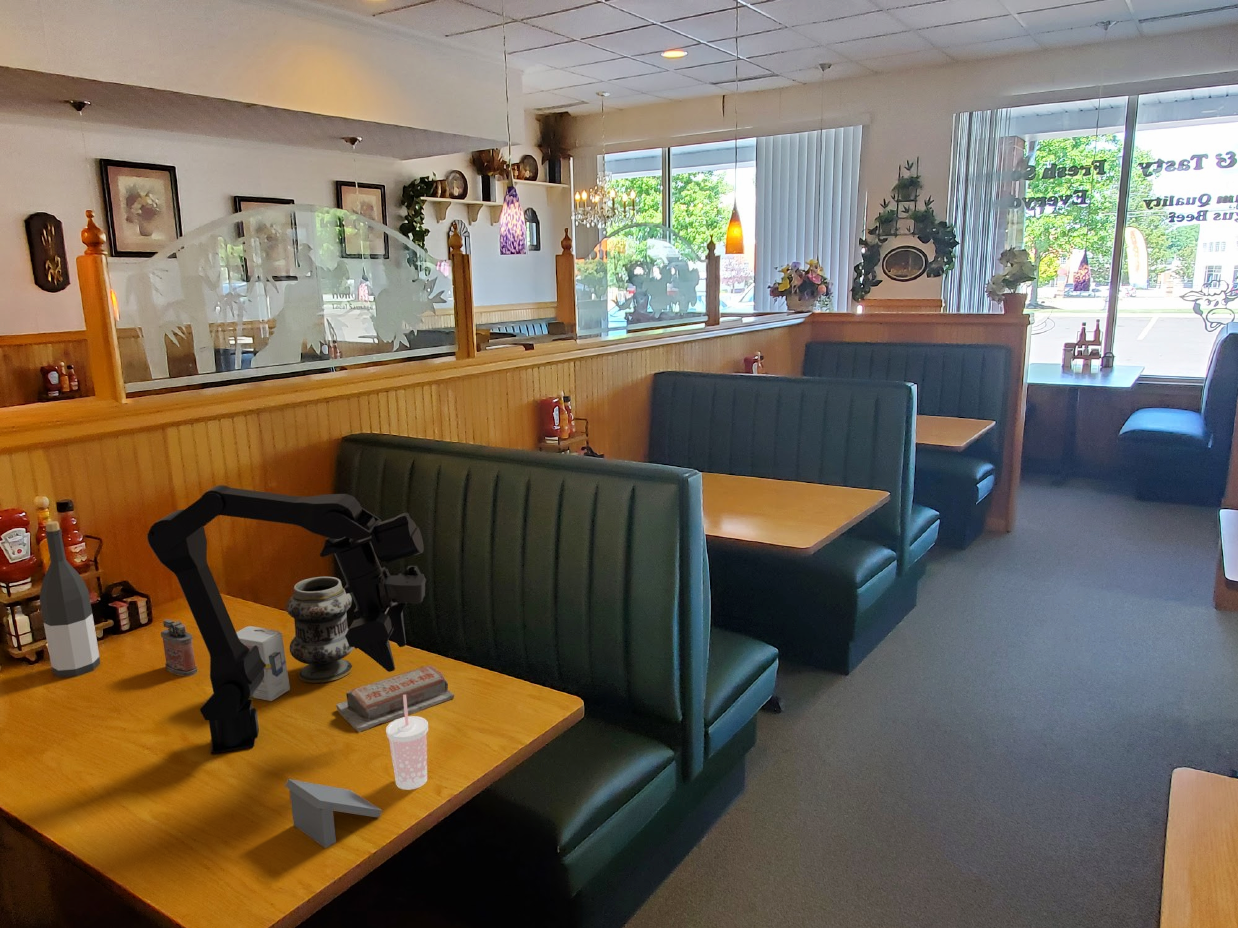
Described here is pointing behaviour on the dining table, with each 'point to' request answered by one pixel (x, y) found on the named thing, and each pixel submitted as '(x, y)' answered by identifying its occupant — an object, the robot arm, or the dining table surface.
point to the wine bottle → (67, 613)
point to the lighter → (178, 649)
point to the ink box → (268, 660)
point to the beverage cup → (409, 749)
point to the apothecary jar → (320, 629)
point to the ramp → (324, 808)
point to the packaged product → (394, 697)
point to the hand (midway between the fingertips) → (397, 658)
